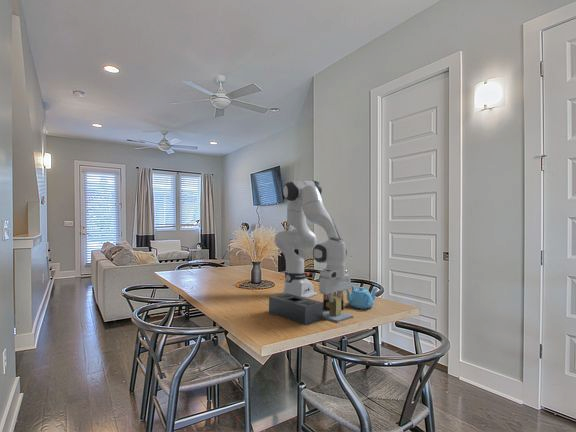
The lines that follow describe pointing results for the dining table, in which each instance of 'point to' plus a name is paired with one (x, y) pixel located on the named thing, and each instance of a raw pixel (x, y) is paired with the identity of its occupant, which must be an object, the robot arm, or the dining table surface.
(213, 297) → the dining table surface
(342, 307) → the ammunition clip
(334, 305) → the brass plug
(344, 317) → the slate mat
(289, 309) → the dark grey socket block
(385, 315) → the dining table surface
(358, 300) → the teapot
